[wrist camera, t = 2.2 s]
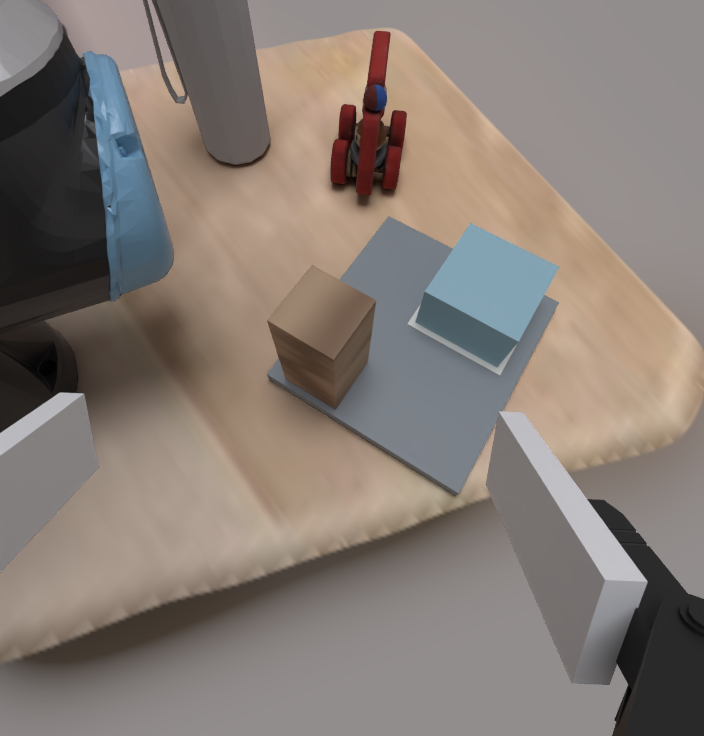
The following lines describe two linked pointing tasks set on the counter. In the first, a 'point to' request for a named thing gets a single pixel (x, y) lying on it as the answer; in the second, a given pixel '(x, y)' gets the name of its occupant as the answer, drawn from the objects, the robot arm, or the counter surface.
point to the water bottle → (216, 73)
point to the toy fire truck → (370, 131)
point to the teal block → (485, 295)
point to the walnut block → (323, 335)
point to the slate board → (420, 366)
